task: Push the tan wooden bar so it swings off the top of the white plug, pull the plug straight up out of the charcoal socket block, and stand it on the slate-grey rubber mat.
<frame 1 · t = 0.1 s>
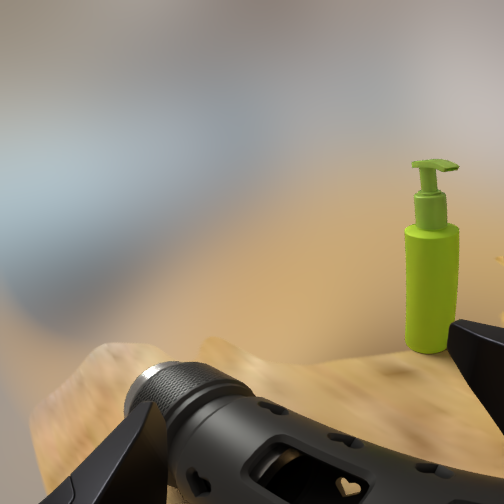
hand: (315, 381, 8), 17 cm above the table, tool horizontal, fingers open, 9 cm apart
soap dispenser: (430, 342, 32), on the table
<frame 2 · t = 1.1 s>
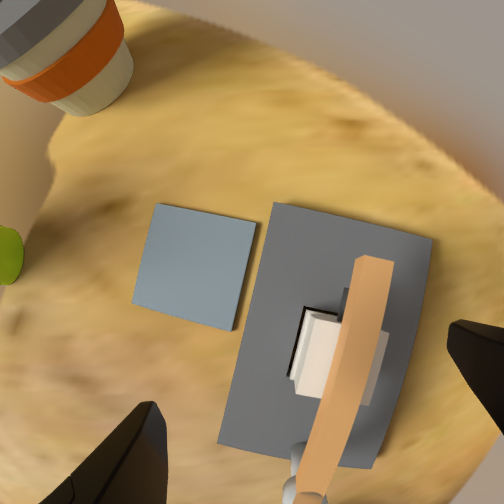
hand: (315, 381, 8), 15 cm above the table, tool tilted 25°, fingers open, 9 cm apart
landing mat: (192, 265, 24), on the table
reusable coffee cup: (97, 82, 28), on the table
socket block: (327, 345, 22), on the table
tan wooden bar: (338, 404, 14), point 8 cm above the table, hinge at 0.0°
soap dispenser: (10, 257, 26), on the table
plug: (327, 345, 22), resting in socket block
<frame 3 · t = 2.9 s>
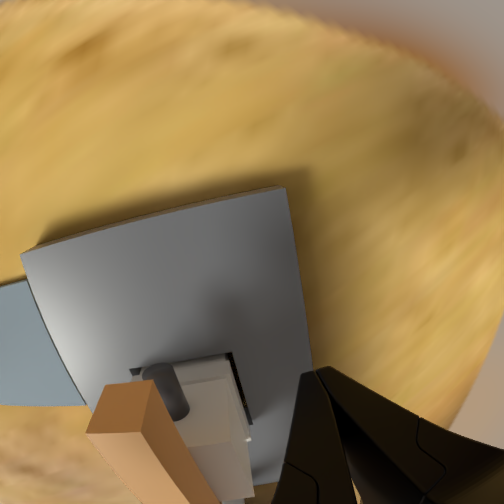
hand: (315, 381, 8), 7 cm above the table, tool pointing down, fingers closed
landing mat: (11, 351, 14), on the table
socket block: (195, 382, 16), on the table
plug: (195, 381, 16), resting in socket block
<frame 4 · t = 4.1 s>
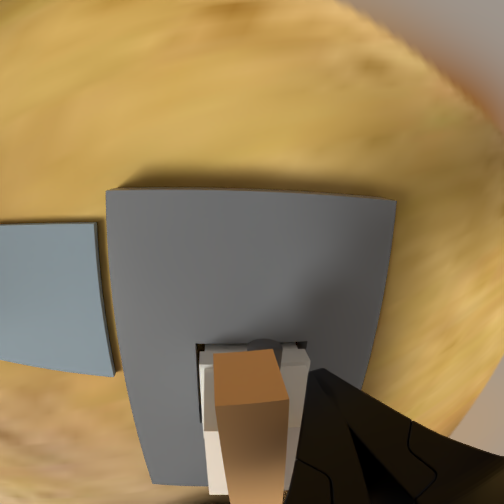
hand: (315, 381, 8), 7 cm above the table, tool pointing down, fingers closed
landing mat: (36, 300, 14), on the table
socket block: (246, 369, 16), on the table
plug: (246, 368, 16), resting in socket block
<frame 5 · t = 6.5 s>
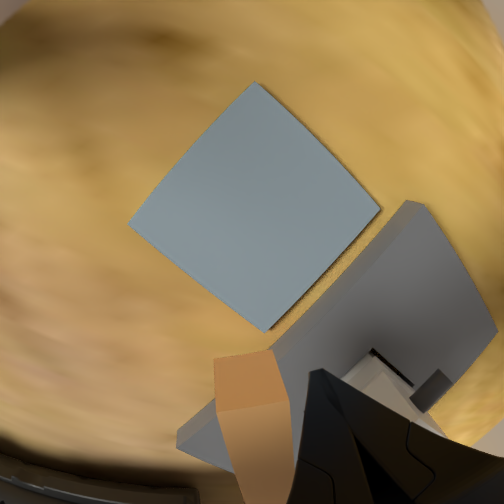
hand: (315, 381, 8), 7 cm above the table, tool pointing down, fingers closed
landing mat: (259, 212, 14), on the table
socket block: (353, 383, 17), on the table
plug: (353, 383, 17), resting in socket block
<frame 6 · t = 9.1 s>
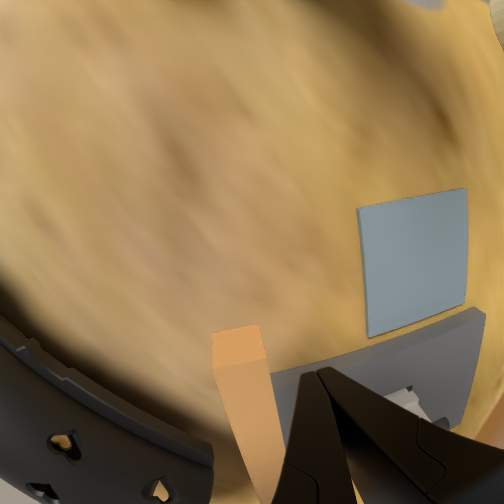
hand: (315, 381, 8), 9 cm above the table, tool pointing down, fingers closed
muzzle brake: (8, 314, 12), point 4 cm above the table
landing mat: (419, 261, 18), on the table
socket block: (372, 407, 21), on the table
tan wooden bar: (272, 476, 11), point 8 cm above the table, hinge at 89.2°
plug: (371, 407, 21), resting in socket block
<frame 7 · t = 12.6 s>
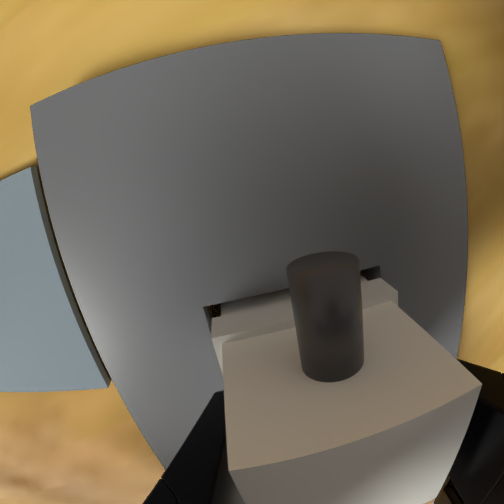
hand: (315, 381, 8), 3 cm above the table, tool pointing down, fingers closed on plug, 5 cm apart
socket block: (295, 336, 11), on the table
plug: (295, 335, 11), resting in socket block, touching gripper
when the fingers open (4 cm above the table, at t = 16.7 s): plug drops 1 cm, resting on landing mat.
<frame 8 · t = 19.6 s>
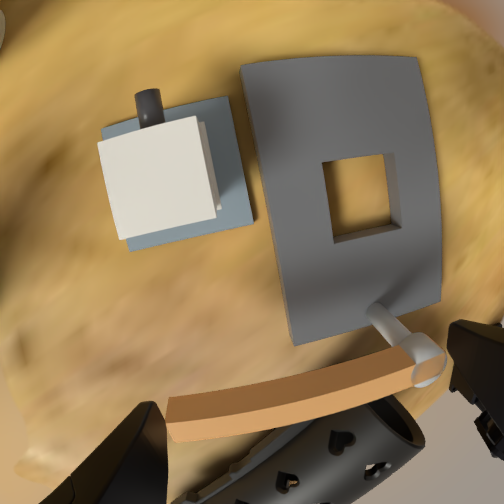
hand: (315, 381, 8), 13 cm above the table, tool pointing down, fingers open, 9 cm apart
muzzle brake: (212, 475, 22), point 4 cm above the table
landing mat: (175, 173, 19), on the table
socket block: (355, 194, 20), on the table
tan wooden bar: (314, 394, 15), point 8 cm above the table, hinge at 89.2°
plug: (175, 173, 18), resting on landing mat
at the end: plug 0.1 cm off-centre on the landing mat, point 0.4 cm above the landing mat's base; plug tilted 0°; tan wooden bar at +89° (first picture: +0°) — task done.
